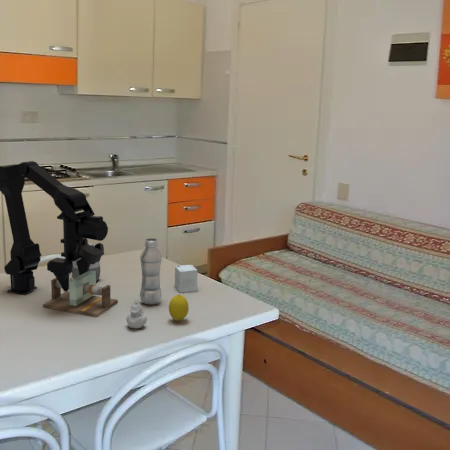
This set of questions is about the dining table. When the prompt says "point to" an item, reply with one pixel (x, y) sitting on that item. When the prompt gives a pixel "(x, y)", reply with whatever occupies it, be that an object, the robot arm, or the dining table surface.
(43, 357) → the dining table surface
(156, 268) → the plastic bottle
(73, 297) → the collar
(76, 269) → the smart speaker
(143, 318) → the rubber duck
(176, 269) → the skincare box
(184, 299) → the lemon
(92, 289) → the pipe stand
